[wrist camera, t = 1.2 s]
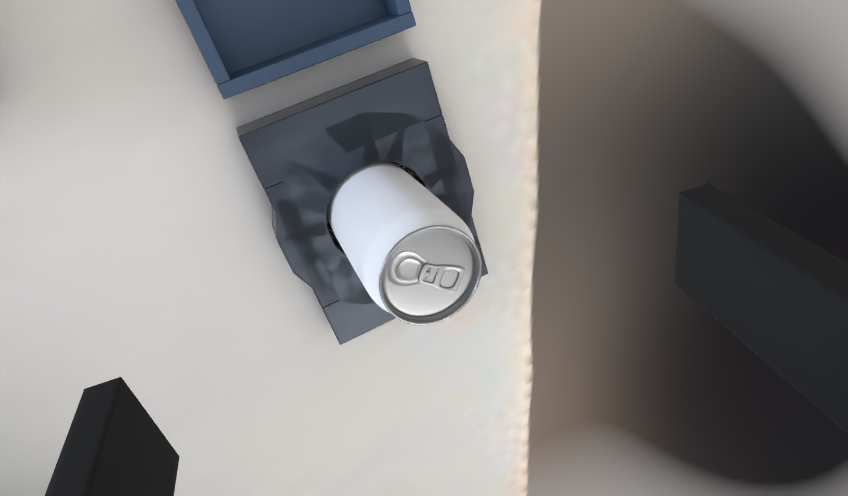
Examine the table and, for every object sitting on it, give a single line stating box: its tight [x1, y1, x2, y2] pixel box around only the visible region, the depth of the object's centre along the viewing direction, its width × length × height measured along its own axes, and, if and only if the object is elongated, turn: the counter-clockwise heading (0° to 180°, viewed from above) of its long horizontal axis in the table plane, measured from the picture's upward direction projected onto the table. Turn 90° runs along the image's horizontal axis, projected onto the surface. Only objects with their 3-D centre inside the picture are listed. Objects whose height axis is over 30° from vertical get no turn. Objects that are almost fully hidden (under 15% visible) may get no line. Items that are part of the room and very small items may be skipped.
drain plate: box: [236, 58, 488, 345], centre depth 37 cm, size 16×13×2 cm
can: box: [327, 162, 482, 325], centre depth 33 cm, size 6×6×12 cm
